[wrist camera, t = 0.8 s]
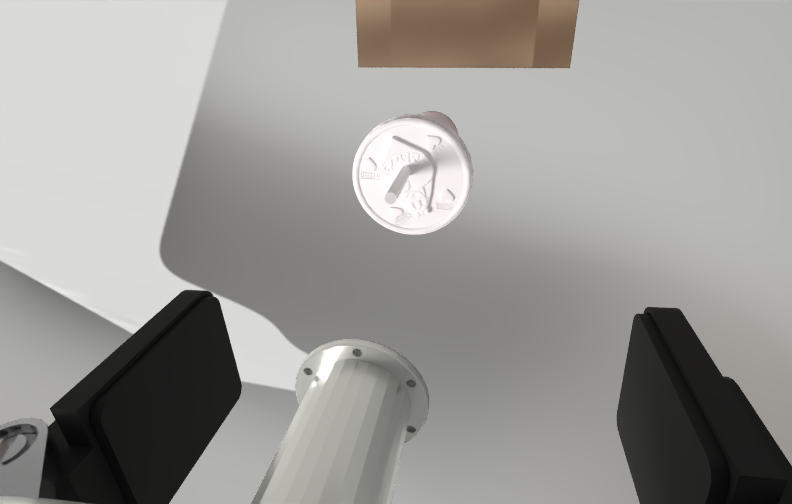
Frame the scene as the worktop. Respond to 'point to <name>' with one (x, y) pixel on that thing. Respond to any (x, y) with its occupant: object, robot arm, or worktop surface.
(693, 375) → the robot arm
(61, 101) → the worktop surface
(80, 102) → the worktop surface
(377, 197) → the smoothie
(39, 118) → the worktop surface
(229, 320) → the worktop surface
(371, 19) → the cutout board
